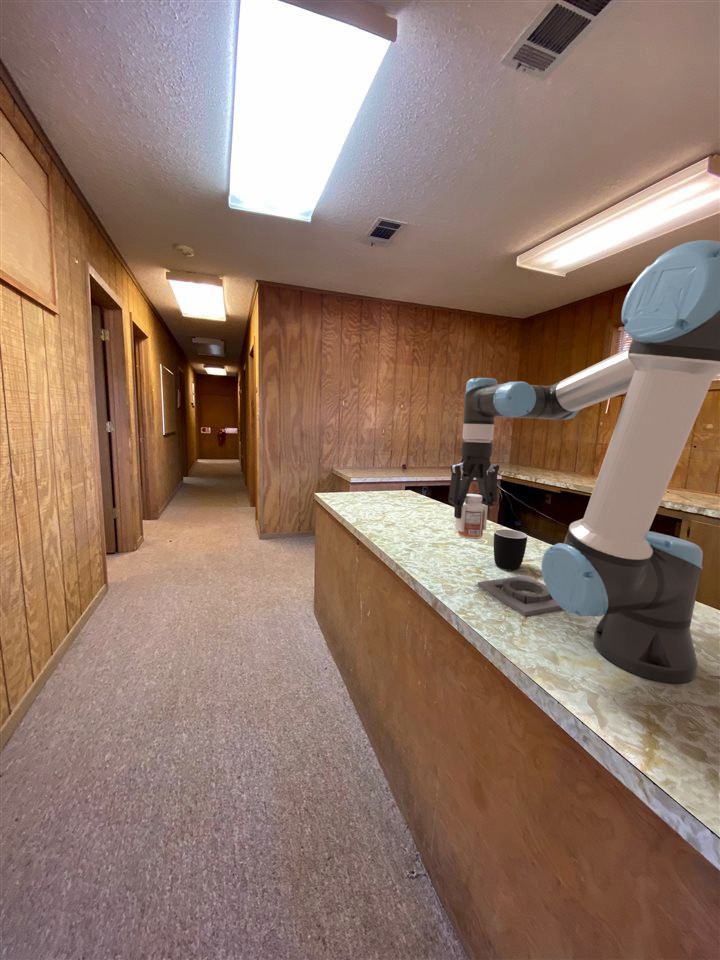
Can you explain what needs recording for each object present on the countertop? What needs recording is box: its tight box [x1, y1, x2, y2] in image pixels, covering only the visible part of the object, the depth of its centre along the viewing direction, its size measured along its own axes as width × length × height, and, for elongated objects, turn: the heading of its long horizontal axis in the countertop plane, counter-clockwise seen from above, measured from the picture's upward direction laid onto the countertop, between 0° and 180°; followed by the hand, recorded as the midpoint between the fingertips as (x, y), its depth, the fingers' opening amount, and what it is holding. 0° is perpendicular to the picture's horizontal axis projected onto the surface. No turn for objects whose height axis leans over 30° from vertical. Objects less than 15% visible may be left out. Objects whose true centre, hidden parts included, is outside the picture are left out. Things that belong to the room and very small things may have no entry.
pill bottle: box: [457, 493, 484, 540], centre depth 99 cm, size 6×6×11 cm
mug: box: [493, 528, 528, 571], centre depth 112 cm, size 12×9×10 cm
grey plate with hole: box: [477, 574, 564, 617], centre depth 93 cm, size 16×16×2 cm
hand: (470, 529), depth 99 cm, fingers closed on pill bottle, 6 cm apart
